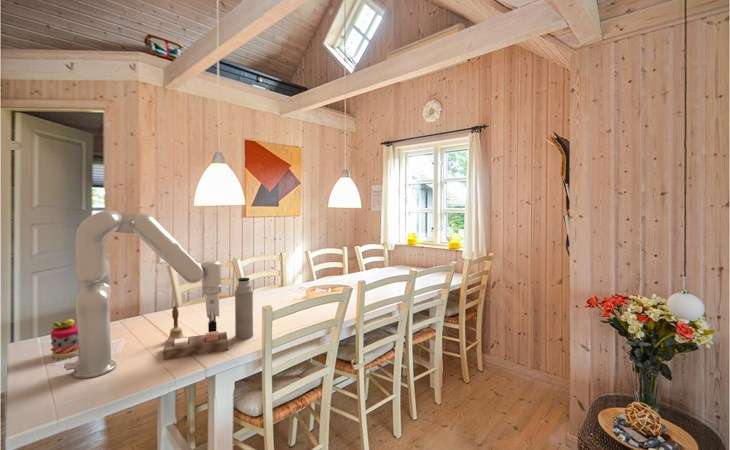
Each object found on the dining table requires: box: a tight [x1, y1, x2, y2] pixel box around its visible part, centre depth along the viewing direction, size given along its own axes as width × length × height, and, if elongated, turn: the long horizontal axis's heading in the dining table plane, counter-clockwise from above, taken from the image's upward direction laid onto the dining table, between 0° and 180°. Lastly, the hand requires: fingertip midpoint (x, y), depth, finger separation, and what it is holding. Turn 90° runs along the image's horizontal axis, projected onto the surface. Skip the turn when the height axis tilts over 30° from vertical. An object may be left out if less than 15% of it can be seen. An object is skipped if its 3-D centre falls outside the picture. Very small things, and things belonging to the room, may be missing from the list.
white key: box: [174, 336, 189, 346], centre depth 145 cm, size 5×5×3 cm
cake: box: [50, 318, 78, 360], centre depth 141 cm, size 10×10×15 cm
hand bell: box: [166, 305, 186, 340], centre depth 157 cm, size 8×8×16 cm
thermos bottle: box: [234, 277, 254, 340], centre depth 163 cm, size 8×8×28 cm
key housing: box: [162, 331, 229, 361], centre depth 148 cm, size 24×12×4 cm, turn 115°
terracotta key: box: [205, 330, 219, 342], centre depth 150 cm, size 5×5×3 cm
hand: (212, 331), depth 150 cm, fingers closed
